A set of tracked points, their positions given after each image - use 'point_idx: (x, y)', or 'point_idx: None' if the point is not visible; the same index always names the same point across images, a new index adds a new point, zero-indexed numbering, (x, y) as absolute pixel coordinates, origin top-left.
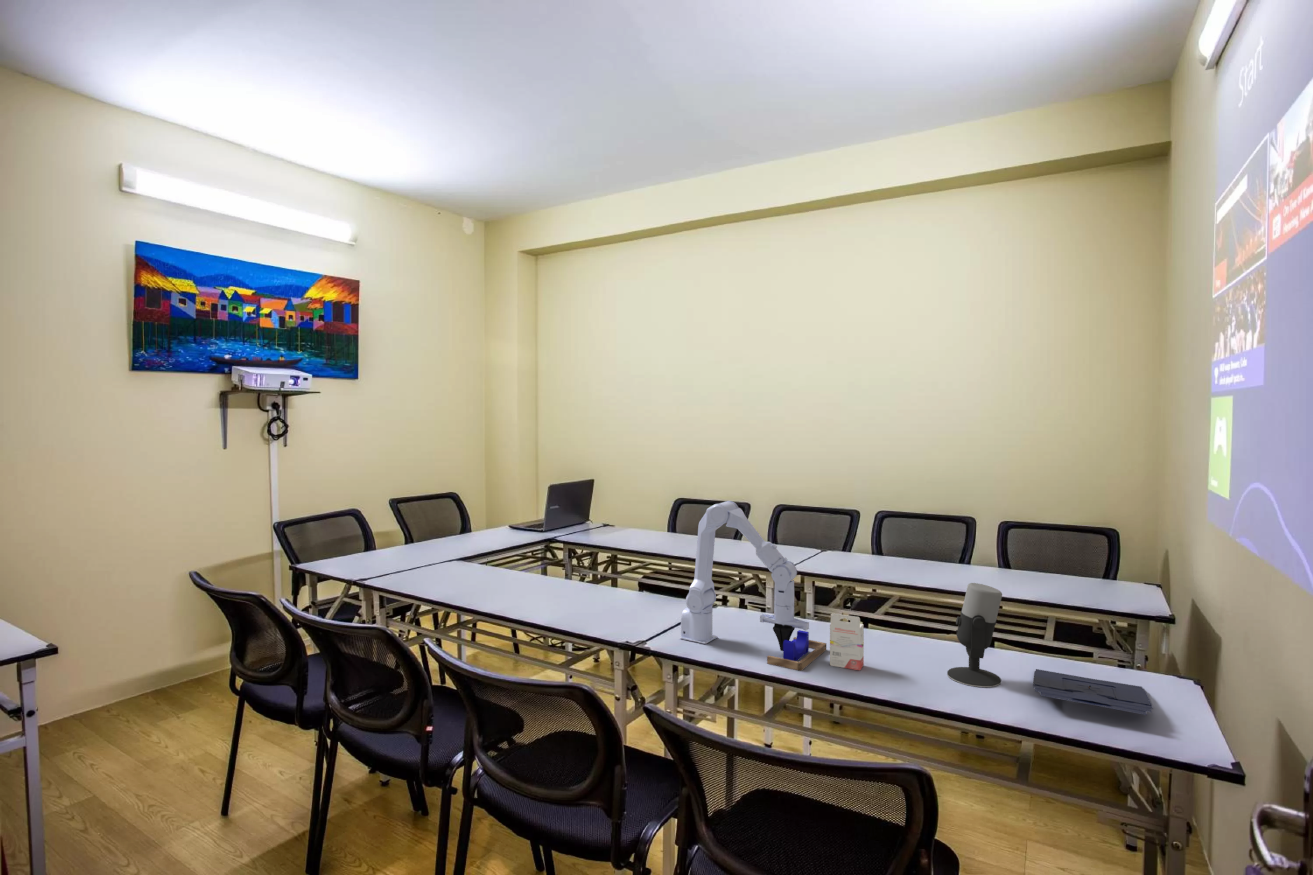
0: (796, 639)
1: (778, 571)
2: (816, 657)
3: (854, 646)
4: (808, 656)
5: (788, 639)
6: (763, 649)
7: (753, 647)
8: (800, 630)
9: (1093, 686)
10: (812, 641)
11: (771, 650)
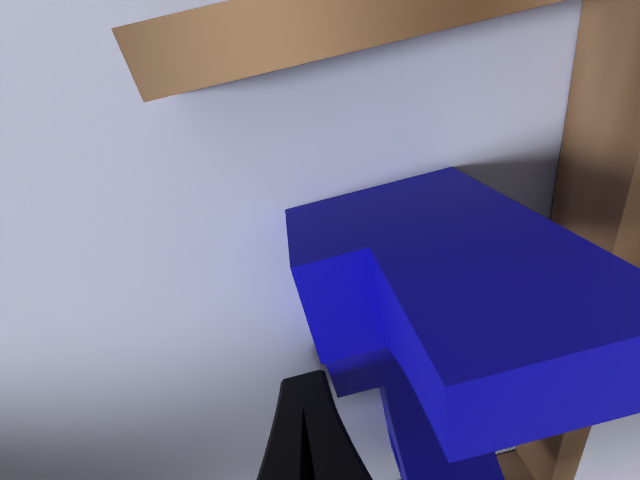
0: (396, 354)
1: None
2: None
3: None
4: None
5: (354, 470)
6: (125, 414)
7: (34, 439)
8: (490, 379)
9: None
10: (509, 3)
11: (185, 388)
